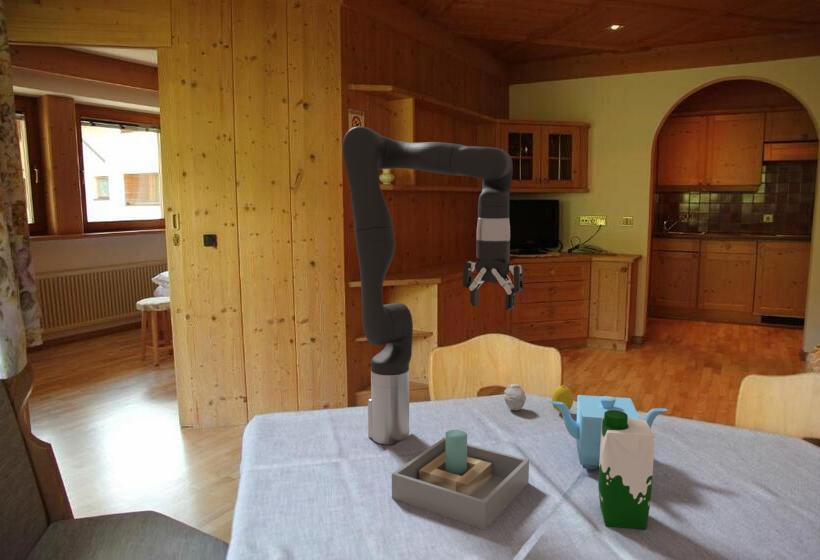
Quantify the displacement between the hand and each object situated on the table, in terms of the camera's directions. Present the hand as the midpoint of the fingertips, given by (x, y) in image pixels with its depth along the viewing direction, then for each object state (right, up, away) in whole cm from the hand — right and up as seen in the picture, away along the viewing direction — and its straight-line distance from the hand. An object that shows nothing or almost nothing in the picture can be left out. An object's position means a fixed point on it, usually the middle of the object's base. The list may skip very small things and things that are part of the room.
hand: (492, 308), depth 138 cm
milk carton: (+21, -38, -27) cm, 51 cm away
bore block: (-10, -35, -15) cm, 39 cm away
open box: (-9, -36, -19) cm, 42 cm away
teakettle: (+25, -34, -5) cm, 43 cm away
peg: (-10, -35, -15) cm, 39 cm away
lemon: (+22, -30, +24) cm, 44 cm away
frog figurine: (+10, -30, +27) cm, 41 cm away
